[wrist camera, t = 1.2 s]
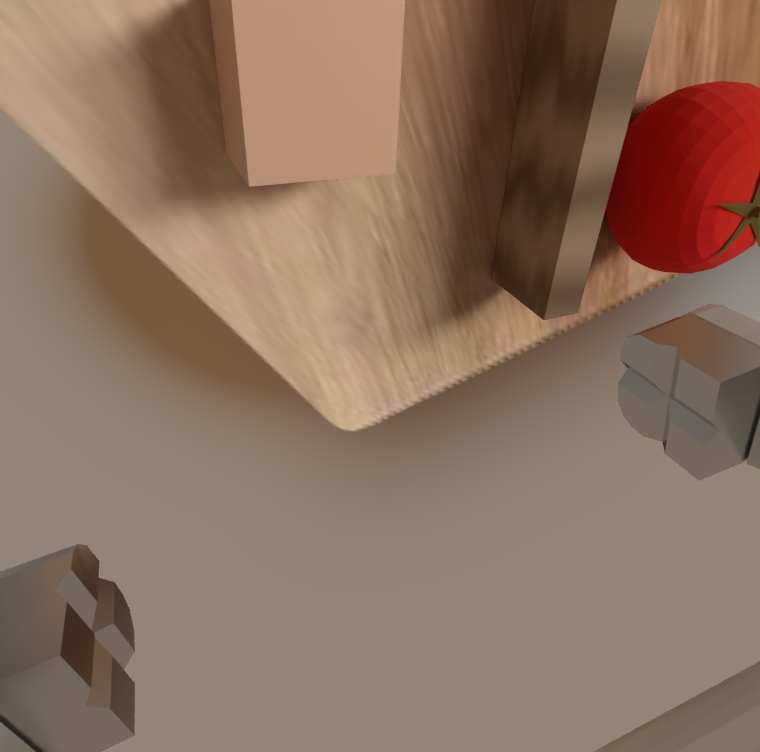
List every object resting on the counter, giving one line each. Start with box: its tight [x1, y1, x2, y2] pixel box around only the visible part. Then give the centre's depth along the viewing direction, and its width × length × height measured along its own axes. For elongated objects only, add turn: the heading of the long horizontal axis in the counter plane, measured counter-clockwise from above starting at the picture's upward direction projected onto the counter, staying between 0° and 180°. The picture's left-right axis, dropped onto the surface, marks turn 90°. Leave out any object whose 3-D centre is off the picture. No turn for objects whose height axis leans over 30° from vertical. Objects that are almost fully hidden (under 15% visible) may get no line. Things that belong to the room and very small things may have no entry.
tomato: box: [605, 81, 760, 273], centre depth 41 cm, size 12×13×11 cm
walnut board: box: [491, 0, 661, 320], centre depth 34 cm, size 30×3×7 cm, turn 179°
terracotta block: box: [209, 0, 405, 187], centre depth 29 cm, size 8×8×6 cm
